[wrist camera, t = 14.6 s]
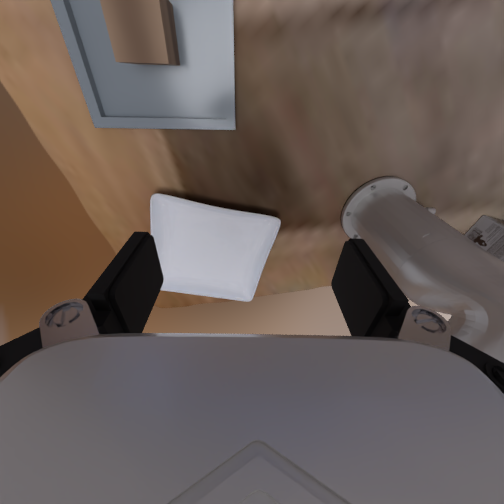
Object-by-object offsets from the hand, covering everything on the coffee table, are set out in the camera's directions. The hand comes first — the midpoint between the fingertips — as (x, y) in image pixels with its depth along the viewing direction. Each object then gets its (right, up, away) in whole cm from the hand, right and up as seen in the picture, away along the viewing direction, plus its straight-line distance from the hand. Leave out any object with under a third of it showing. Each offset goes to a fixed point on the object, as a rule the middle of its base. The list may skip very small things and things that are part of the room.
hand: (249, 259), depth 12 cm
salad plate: (-8, +1, +34) cm, 34 cm away
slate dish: (-11, +25, +15) cm, 31 cm away
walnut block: (-11, +24, +14) cm, 30 cm away
